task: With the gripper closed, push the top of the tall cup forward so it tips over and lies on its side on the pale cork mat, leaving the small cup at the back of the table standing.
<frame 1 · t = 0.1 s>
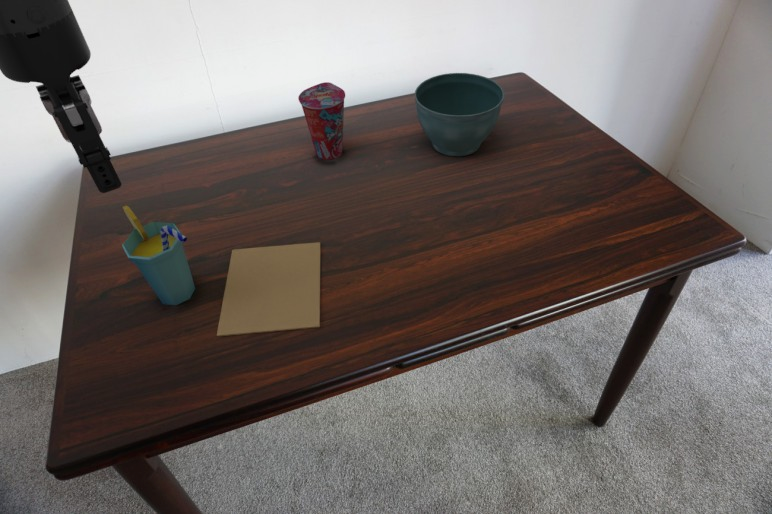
hand: (102, 169, 56), 25 cm above the table, tool pointing down, fingers open, 8 cm apart
cup: (181, 295, 77), on the table
cup 2: (328, 152, 103), on the table
cork mat: (273, 286, 77), on the table
flower pot: (455, 144, 103), on the table
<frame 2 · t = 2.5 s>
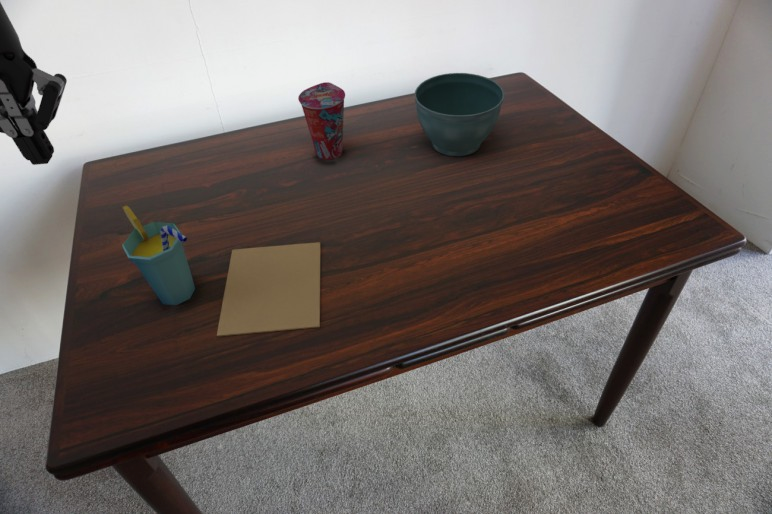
hand: (43, 160, 59), 24 cm above the table, tool pointing down, fingers closed
nothing on the table moved.
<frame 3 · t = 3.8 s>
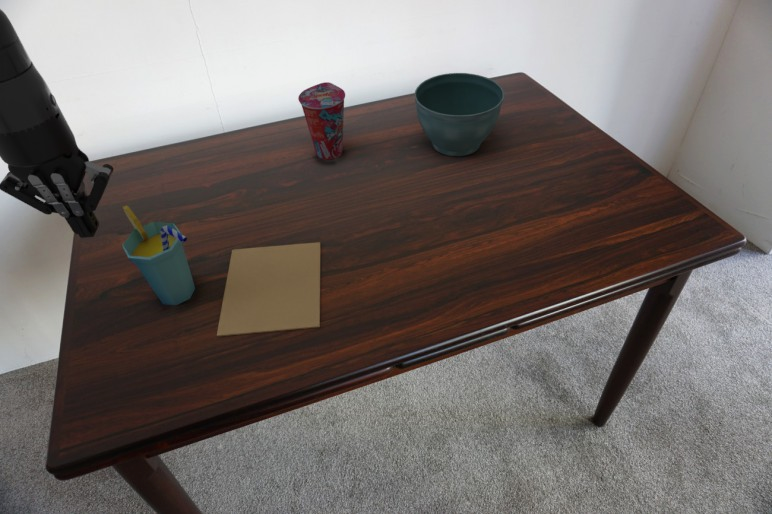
hand: (90, 233, 67), 13 cm above the table, tool pointing down, fingers closed
nothing on the table moved.
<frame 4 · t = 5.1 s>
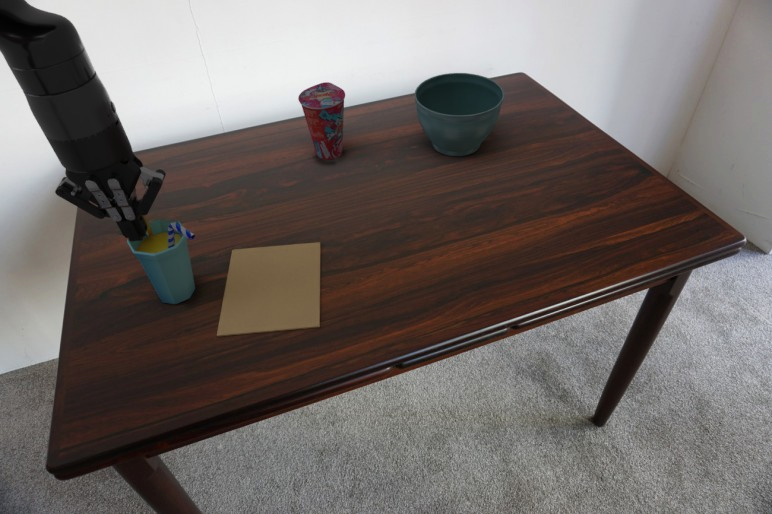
hand: (138, 236, 69), 12 cm above the table, tool pointing down, fingers closed
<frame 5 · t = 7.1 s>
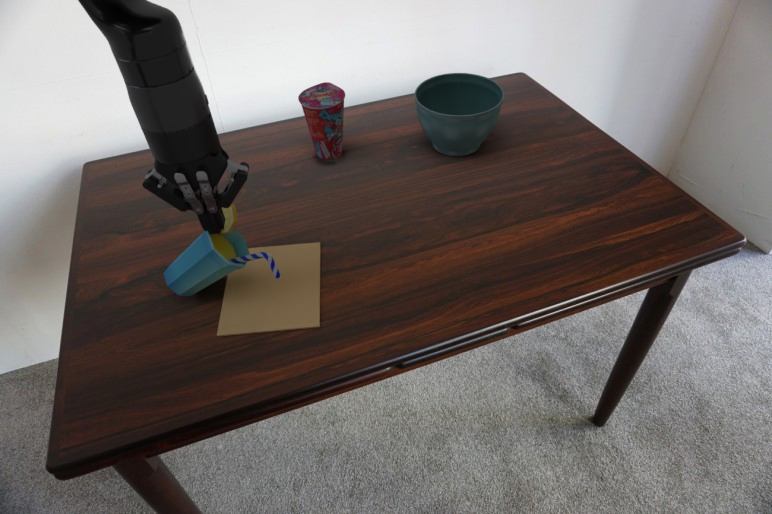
hand: (216, 229, 69), 12 cm above the table, tool pointing down, fingers closed
cup: (182, 286, 76), point 2 cm above the table, touching gripper
everything else where it was.
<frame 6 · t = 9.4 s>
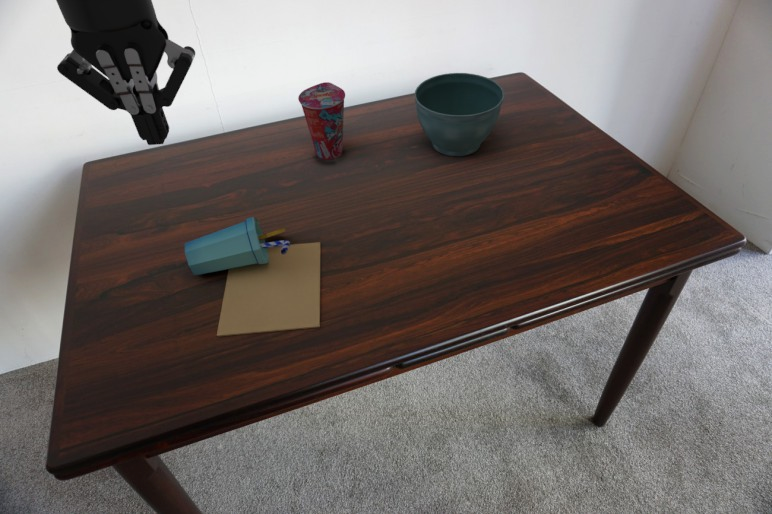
hand: (158, 140, 56), 27 cm above the table, tool pointing down, fingers closed
cup: (189, 261, 77), point 3 cm above the table, touching cork mat
everything else where it was.
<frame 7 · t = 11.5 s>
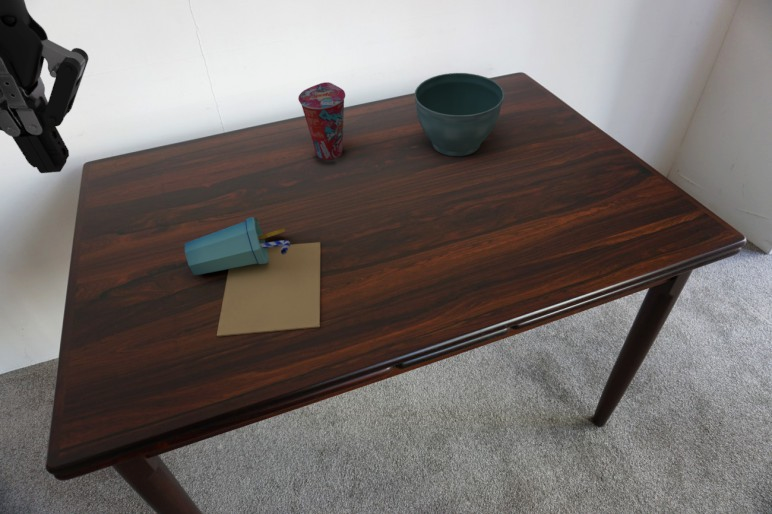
hand: (55, 167, 44), 32 cm above the table, tool pointing down, fingers closed
nothing on the table moved.
at the end: cup tilted 85°; cup touching cork mat, table; cup 2 tilted 0° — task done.
